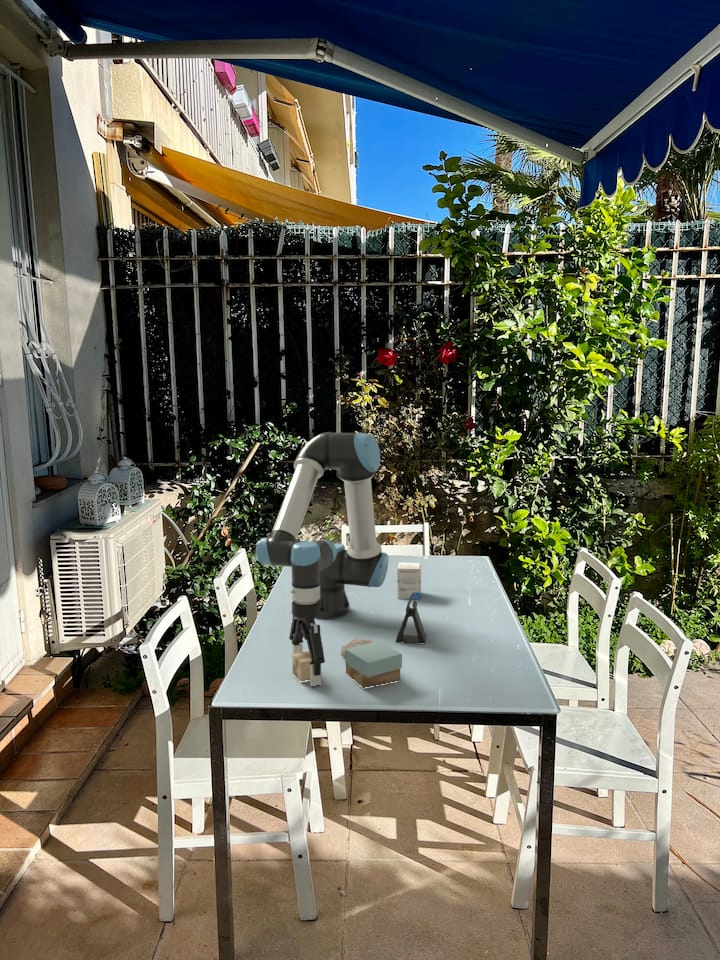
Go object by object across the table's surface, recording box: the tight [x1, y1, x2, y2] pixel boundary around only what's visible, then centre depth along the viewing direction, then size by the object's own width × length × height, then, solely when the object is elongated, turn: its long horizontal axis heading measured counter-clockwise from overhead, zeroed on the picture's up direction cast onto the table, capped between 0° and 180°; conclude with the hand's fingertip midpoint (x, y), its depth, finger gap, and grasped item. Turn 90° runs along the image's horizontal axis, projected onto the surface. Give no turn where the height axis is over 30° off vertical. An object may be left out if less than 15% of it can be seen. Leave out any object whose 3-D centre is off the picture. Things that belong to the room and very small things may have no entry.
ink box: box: [396, 562, 422, 600], centre depth 262 cm, size 9×8×12 cm
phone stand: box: [395, 599, 427, 644], centre depth 219 cm, size 9×6×12 cm, turn 80°
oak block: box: [291, 650, 312, 681], centre depth 193 cm, size 6×6×6 cm
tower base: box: [345, 663, 401, 688], centre depth 193 cm, size 11×11×4 cm
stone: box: [340, 638, 373, 659], centre depth 211 cm, size 12×12×3 cm
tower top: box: [344, 640, 403, 677], centre depth 192 cm, size 11×11×4 cm
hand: (306, 676), depth 194 cm, fingers open, 12 cm apart
